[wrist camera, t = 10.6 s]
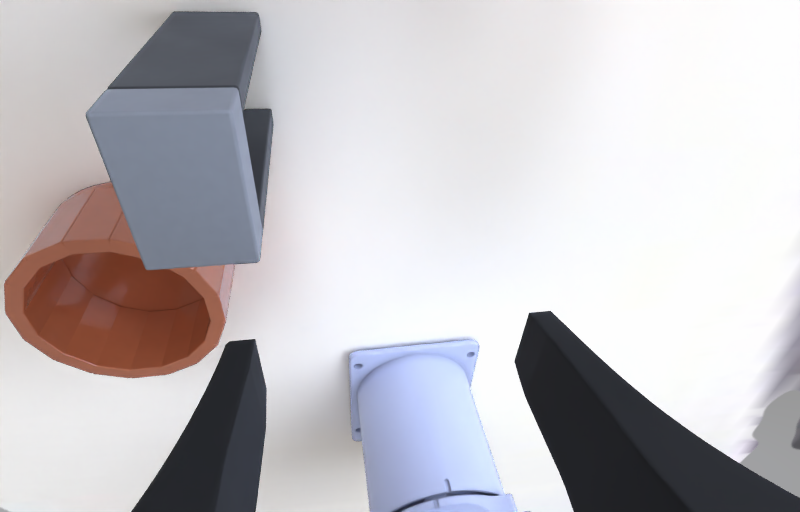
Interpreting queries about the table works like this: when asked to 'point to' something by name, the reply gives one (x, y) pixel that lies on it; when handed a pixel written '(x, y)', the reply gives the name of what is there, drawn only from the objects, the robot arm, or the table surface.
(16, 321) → the holder
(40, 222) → the table surface
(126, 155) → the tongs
